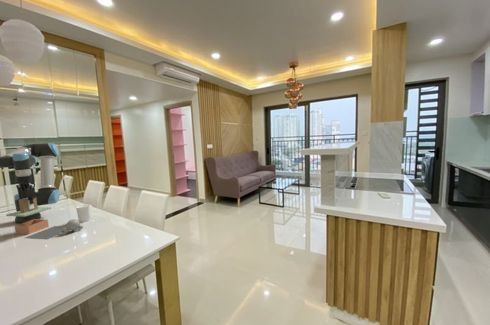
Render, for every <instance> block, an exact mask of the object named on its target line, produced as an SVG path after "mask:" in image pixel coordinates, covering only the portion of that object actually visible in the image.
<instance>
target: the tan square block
mask: <svg viewBox="0 0 490 325" xmlns="http://www.w3.org/2000/svg"><path fill="white" fill-rule="evenodd" d="M48 228H49V220H48V219H42V218H39V219H34V220H31V221H28V222H24V223H17V224H16V225H14V231H15V235H18V234H21V235H22V234H23V235H32V234H33V233H34V234H35V233H37V232H40V231H43V230H45V229H48Z"/></svg>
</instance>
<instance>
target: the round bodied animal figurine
mask: <svg viewBox="0 0 490 325" xmlns="http://www.w3.org/2000/svg"><path fill="white" fill-rule="evenodd" d="M65 225H66V226H65V227H64V228H63V227H61V228H62V232H61V233H60V232H59V233H60V234H59V235H61V236H65V235H67V234H68V233H69V232H70V231H71V232H73V233H77V232H79V231H80V230H81V229H83V228H84V226H83V225H82V224H81V222H79V219H75V218H73V219H70V220H68V221H67V223H66V224H65Z"/></svg>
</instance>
